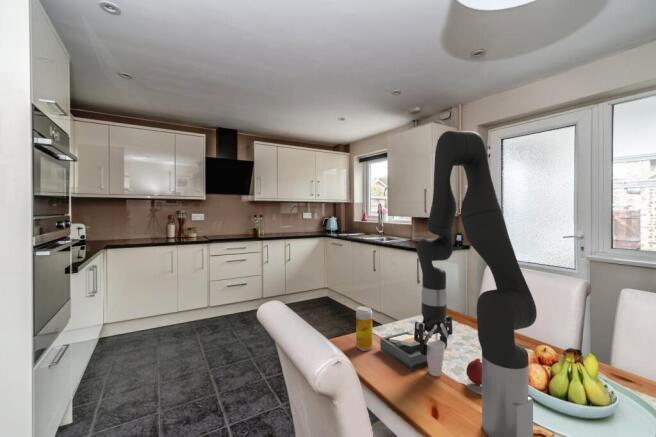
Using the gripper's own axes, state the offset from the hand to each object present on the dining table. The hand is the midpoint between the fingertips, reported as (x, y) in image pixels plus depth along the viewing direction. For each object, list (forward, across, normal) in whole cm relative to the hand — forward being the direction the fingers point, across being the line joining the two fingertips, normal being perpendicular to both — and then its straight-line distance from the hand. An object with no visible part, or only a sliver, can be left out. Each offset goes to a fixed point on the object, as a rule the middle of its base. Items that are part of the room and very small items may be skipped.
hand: (433, 351), depth 93 cm
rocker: (+2, +1, +12) cm, 12 cm away
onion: (+7, +6, -11) cm, 14 cm away
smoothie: (+7, 0, 0) cm, 7 cm away
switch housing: (+7, +1, +12) cm, 14 cm away
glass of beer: (+7, -10, +24) cm, 27 cm away
